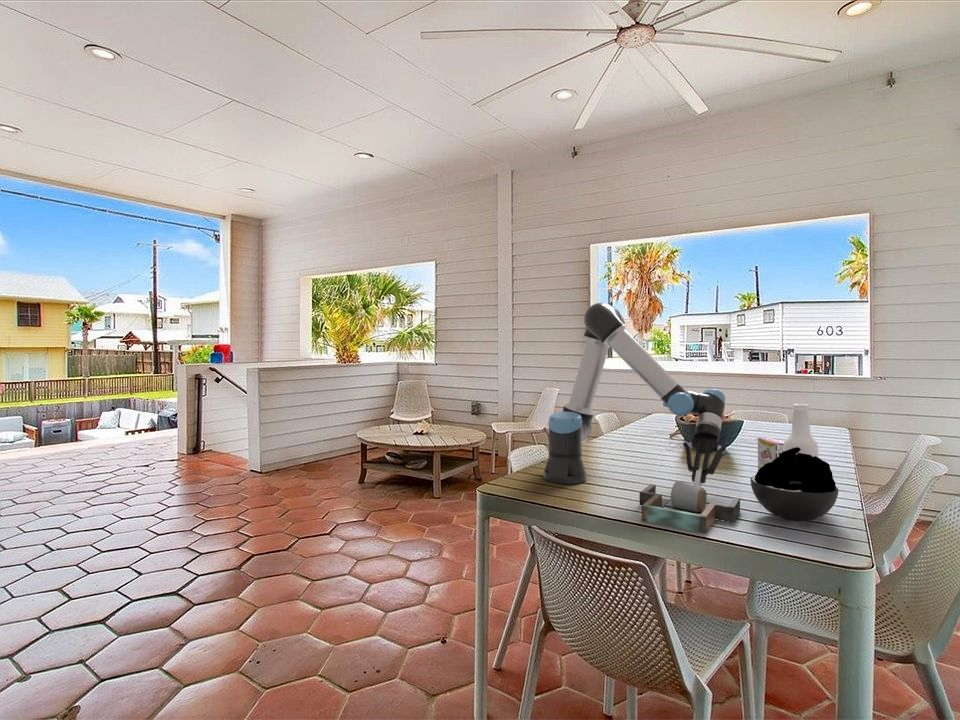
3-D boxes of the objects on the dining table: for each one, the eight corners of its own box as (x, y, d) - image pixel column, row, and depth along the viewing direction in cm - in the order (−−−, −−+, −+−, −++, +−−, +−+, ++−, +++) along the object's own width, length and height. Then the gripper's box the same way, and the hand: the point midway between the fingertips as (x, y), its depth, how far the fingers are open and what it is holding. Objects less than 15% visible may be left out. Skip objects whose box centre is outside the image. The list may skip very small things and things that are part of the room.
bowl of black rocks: (808, 538, 119) (808, 461, 118) (734, 514, 137) (734, 447, 136) (854, 525, 127) (855, 454, 127) (779, 504, 145) (780, 441, 145)
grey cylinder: (699, 516, 135) (700, 488, 135) (670, 509, 140) (670, 483, 140) (711, 507, 143) (711, 481, 143) (682, 502, 148) (682, 476, 148)
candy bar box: (756, 485, 167) (756, 437, 167) (771, 485, 167) (771, 437, 167) (775, 494, 156) (776, 443, 155) (791, 494, 156) (791, 443, 155)
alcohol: (775, 500, 149) (776, 402, 149) (802, 499, 150) (803, 402, 150) (797, 509, 140) (798, 405, 140) (825, 508, 141) (826, 405, 141)
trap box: (625, 517, 134) (625, 502, 134) (650, 496, 153) (650, 484, 153) (725, 537, 119) (725, 521, 119) (740, 511, 138) (740, 497, 138)
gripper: (730, 438, 161) (721, 501, 147) (688, 434, 168) (676, 493, 155) (728, 424, 156) (718, 487, 143) (685, 420, 164) (671, 480, 151)
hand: (696, 490), depth 149 cm, fingers closed
